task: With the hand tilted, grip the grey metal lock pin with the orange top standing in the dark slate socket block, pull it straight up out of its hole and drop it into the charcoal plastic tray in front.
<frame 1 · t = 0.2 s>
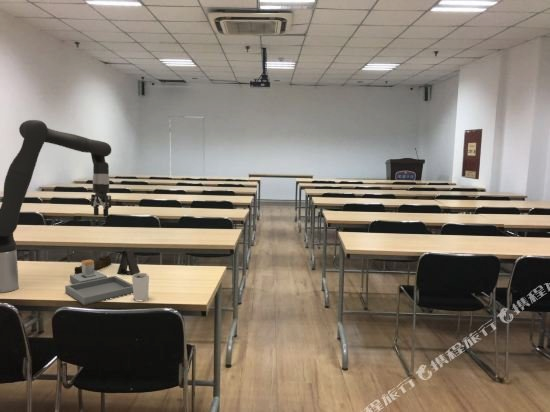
hand: (100, 215, 214), 28 cm above the table, tool pointing down, fingers open, 8 cm apart
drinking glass: (141, 299, 179), on the table
socket block: (88, 282, 199), on the table
hand tool: (94, 270, 219), on the table
black a-frame stand: (128, 273, 214), on the table
tray: (101, 292, 185), on the table
lock pin: (88, 271, 198), in the socket block
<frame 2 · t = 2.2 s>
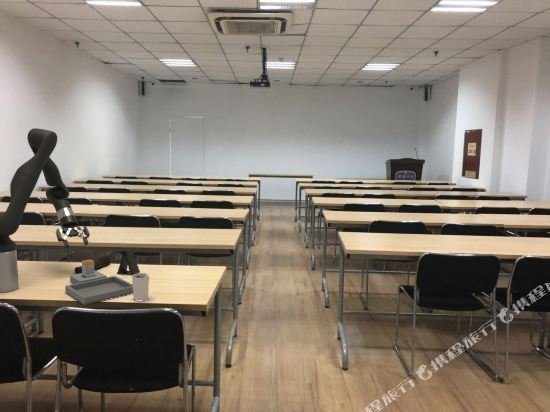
hand: (77, 246, 205), 15 cm above the table, tool tilted 45°, fingers open, 8 cm apart
nothing on the table moved.
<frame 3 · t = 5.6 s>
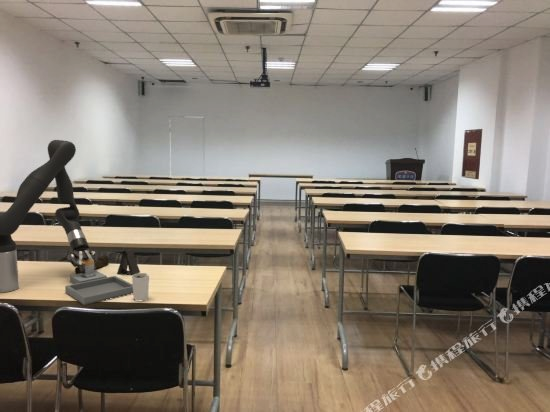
hand: (89, 271, 198), 5 cm above the table, tool tilted 45°, fingers closed on lock pin, 4 cm apart
lock pin: (88, 271, 198), in the socket block, touching gripper
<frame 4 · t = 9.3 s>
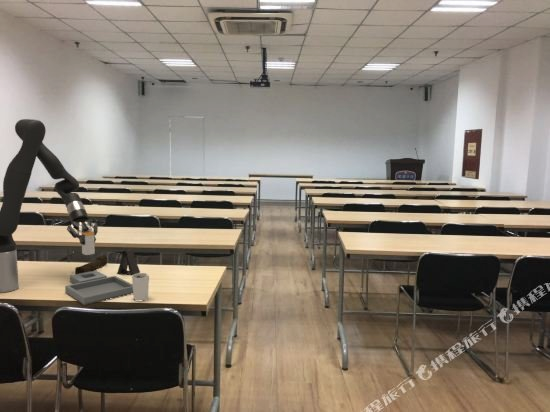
hand: (89, 242, 195), 19 cm above the table, tool tilted 45°, fingers closed on lock pin, 4 cm apart
lock pin: (88, 242, 195), point 19 cm above the table, touching gripper
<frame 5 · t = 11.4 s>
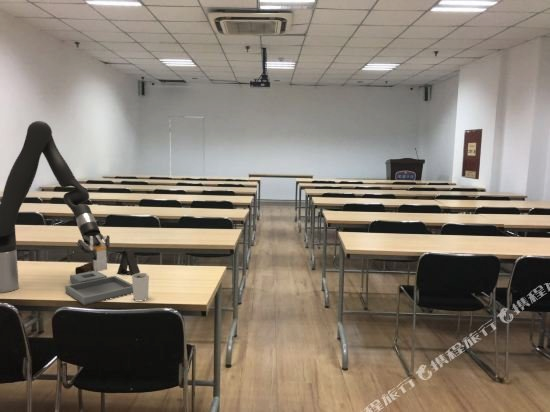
hand: (100, 258, 182), 15 cm above the table, tool tilted 45°, fingers closed on lock pin, 4 cm apart
lock pin: (99, 257, 183), point 15 cm above the table, touching gripper
when the fingers open (7 cm above the table, at t = 13.1 s): lock pin drops 2 cm, resting on tray.
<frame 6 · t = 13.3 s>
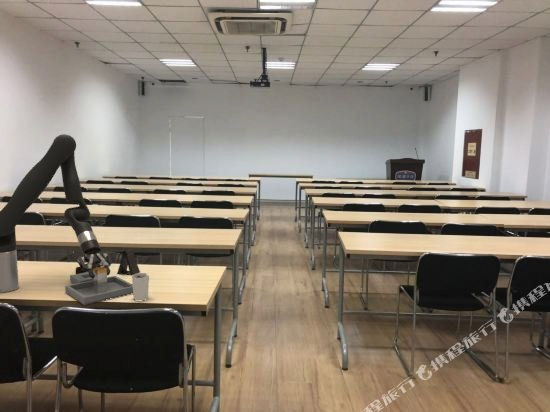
hand: (101, 275, 184), 8 cm above the table, tool tilted 45°, fingers open, 6 cm apart
lock pin: (100, 280, 184), in the tray, point 6 cm above the table
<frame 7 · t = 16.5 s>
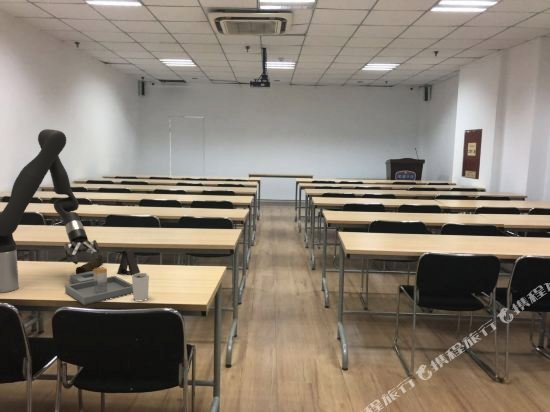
hand: (86, 261, 193), 11 cm above the table, tool tilted 45°, fingers open, 8 cm apart
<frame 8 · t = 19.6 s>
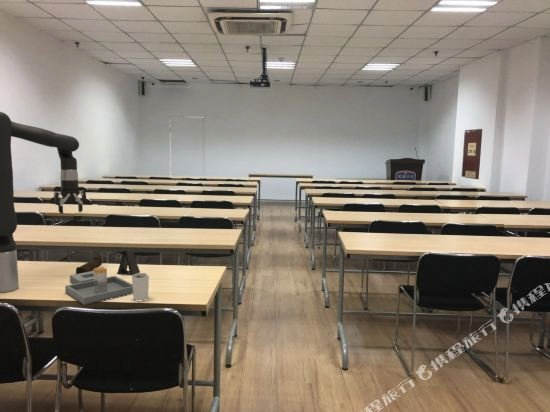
hand: (70, 212, 208), 30 cm above the table, tool pointing down, fingers open, 8 cm apart
at the end: lock pin inside the target area on the tray (0.1 cm from its centre), point 5.6 cm above the tray's base; the gripper is holding nothing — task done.
